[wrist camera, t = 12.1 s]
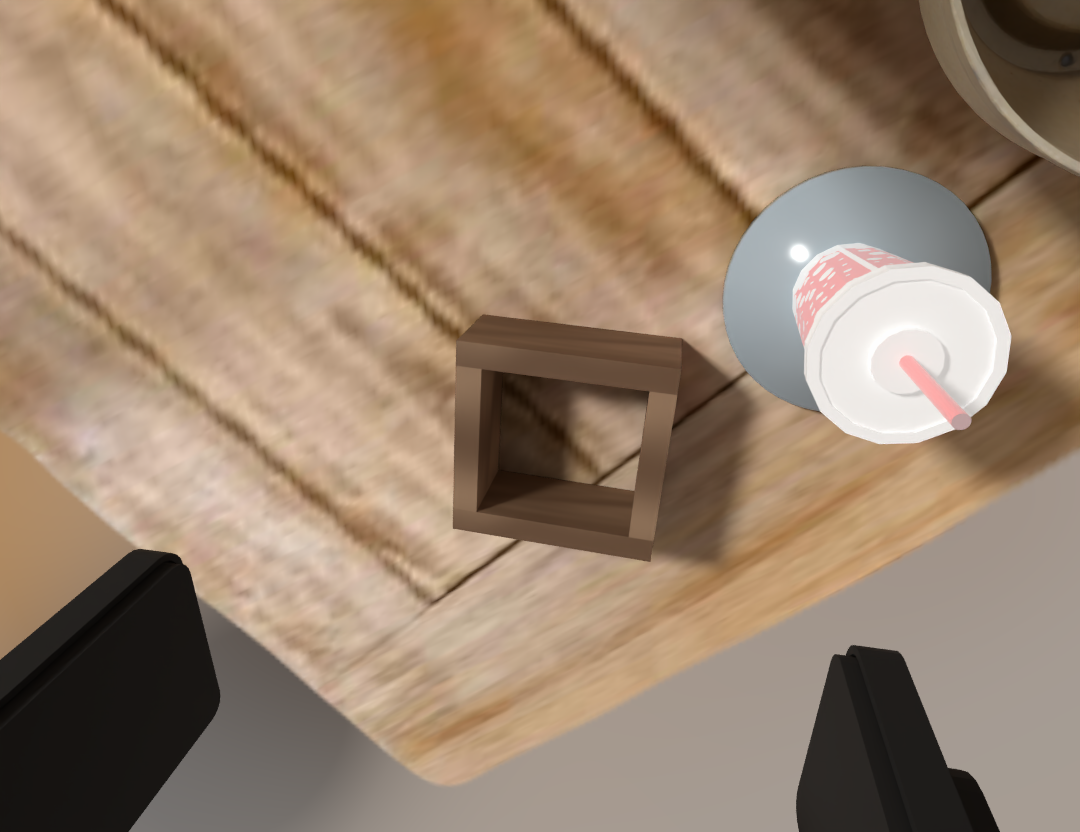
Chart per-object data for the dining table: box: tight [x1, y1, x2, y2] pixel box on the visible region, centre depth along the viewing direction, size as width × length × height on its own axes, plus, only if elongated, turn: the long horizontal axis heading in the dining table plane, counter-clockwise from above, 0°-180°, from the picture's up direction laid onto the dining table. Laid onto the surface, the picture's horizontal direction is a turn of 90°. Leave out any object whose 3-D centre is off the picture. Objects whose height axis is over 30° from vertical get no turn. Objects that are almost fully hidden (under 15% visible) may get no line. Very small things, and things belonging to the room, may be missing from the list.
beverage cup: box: [793, 243, 1011, 444], centre depth 24 cm, size 6×6×14 cm
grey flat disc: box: [723, 166, 991, 411], centre depth 31 cm, size 11×11×1 cm
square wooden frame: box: [453, 315, 682, 562], centre depth 34 cm, size 10×10×4 cm
